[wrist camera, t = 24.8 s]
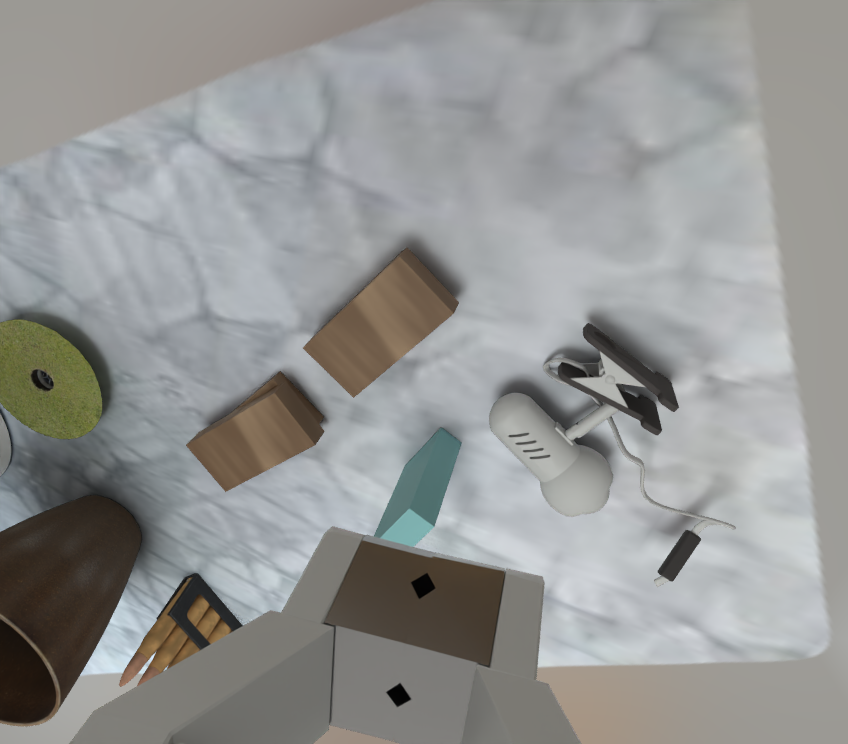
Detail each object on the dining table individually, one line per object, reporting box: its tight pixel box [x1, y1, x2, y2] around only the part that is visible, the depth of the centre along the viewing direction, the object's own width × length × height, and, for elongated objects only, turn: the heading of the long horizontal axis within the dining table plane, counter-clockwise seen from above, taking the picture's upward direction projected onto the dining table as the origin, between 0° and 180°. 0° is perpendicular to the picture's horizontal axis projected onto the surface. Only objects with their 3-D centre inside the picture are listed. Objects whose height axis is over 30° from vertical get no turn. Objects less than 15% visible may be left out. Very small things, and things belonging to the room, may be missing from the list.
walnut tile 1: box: [303, 248, 459, 398], centre depth 44 cm, size 2×5×10 cm
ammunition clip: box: [119, 574, 242, 687], centre depth 60 cm, size 11×2×12 cm, turn 33°
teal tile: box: [374, 428, 461, 547], centre depth 47 cm, size 2×5×10 cm, turn 144°
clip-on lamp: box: [489, 323, 736, 587], centre depth 44 cm, size 12×6×18 cm
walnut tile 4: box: [186, 381, 324, 492], centre depth 51 cm, size 2×5×10 cm
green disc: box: [0, 319, 102, 439], centre depth 55 cm, size 11×11×2 cm
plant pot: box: [0, 495, 141, 726], centre depth 56 cm, size 15×15×16 cm
